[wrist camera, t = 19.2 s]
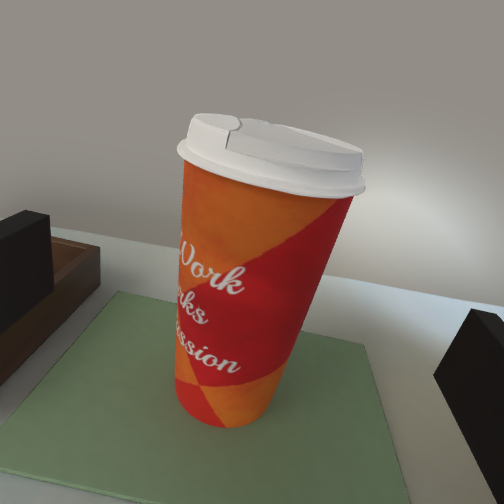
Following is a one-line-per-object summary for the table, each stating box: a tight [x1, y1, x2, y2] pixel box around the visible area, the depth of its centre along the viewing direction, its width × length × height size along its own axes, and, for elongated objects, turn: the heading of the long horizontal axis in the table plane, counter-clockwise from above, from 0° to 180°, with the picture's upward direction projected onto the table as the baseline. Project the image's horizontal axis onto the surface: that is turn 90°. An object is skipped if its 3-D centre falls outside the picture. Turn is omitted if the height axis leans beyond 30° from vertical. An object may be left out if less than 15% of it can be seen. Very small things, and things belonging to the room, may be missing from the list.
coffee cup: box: [175, 113, 366, 428], centre depth 18 cm, size 8×8×15 cm
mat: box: [0, 291, 410, 504], centre depth 21 cm, size 20×14×1 cm
